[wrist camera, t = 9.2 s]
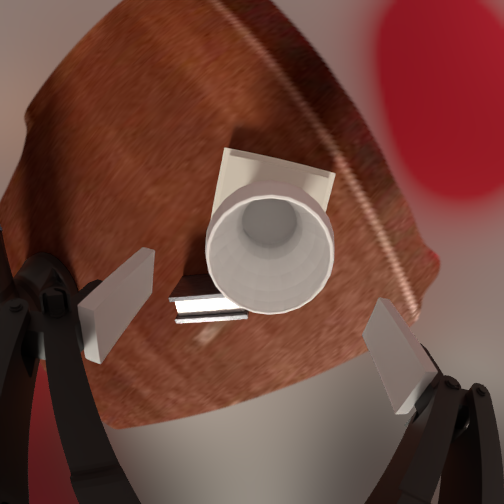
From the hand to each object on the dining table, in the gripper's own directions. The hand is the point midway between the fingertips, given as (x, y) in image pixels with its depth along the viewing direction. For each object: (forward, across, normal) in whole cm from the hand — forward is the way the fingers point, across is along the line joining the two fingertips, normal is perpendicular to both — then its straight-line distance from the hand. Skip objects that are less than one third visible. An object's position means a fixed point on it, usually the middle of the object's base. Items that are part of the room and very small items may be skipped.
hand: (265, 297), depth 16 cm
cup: (+21, 0, 0) cm, 21 cm away
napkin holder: (+25, -5, -13) cm, 28 cm away
